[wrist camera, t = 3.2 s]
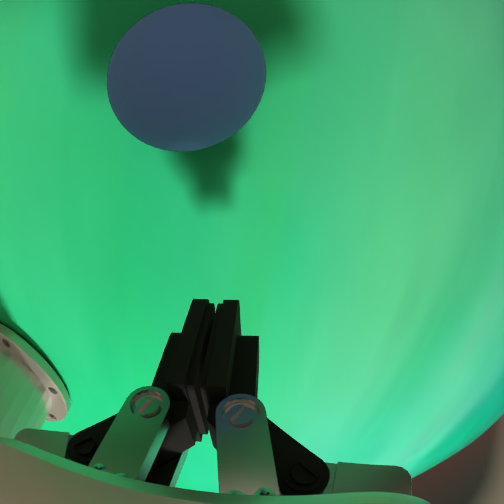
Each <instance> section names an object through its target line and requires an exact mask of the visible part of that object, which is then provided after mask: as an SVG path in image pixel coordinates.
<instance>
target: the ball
mask: <svg viewBox="0 0 504 504" xmlns="http://www.w3.org/2000/svg"><path fill="white" fill-rule="evenodd" d="M265 82H266V65H265V59H264V55H263V51H262V49H261V46H260V44H259V42H258V40H257V38H256V37H255V35H254V34H253V32H252V31H251V30H250V29H249V27H248V26H247V25H246V24H244V23H243V22H242V21H241V20H240V19H238V18H237V17H236V16H234V15H233V14H231V13H229V12H227V11H225V10H223V9H221V8H218V7H215V6H212V5H206V4H199V3H183V4H175V5H171V6H167V7H164V8H161V9H158V10H156V11H154V12H152V13H150V14H148V15H147V16H145V17H143V18H142V19H140V20H139V21H138V22H137V23H135V24H134V25H133V26H132V27H131V28H130V29H129V30H128V31H127V32H126V33H125V34H124V36H123V37H122V38H121V39H120V41H119V42H118V44H117V46H116V48H115V49H114V52H113V54H112V56H111V59H110V63H109V66H108V72H107V91H108V97H109V101H110V104H111V107H112V109H113V112H114V113H115V115H116V117H117V119H118V120H119V121H120V123H121V124H122V125H123V126H124V127H125V128H126V129H127V130H128V131H129V132H130V133H131V134H132V135H133V136H135V137H136V138H137V139H139V140H140V141H142V142H144V143H146V144H148V145H150V146H153V147H155V148H159V149H163V150H168V151H176V152H187V151H195V150H200V149H204V148H208V147H210V146H213V145H216V144H218V143H220V142H222V141H224V140H226V139H228V138H229V137H230V136H232V135H233V134H235V133H236V132H237V131H238V130H239V129H241V128H242V127H243V126H244V125H245V124H246V122H247V121H248V120H249V119H250V118H251V116H252V115H253V113H254V112H255V110H256V109H257V107H258V105H259V103H260V101H261V98H262V95H263V92H264V87H265Z"/></svg>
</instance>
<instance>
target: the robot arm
mask: <svg viewBox="0 0 504 504" xmlns="http://www.w3.org/2000/svg"><path fill="white" fill-rule="evenodd" d="M258 373H259V336H241V324H240V305H239V300H224V301H223V304H218V305H217V309H216V313H215V306H214V303H209V300H208V299H193V300H192V303H191V306H190V309H189V312H188V315H187V318H186V321H185V323H184V326H183V329H182V332H181V333H173V332H172V333H171V334H170V336H169V339H168V342H167V344H166V347H165V350H164V352H163V355H162V358H161V361H160V364H159V366H158V369H157V372H156V375H155V378H154V380H153V383H152V386H146V387H141V388H138V389H136V390H135V391H133V392H132V393H131V394H130V395H129V396H128V397H127V399H126V401H125V402H124V404H123V406H122V408H121V409H120V411H119V413H117V414H115V415H113V416H111V417H109V418H107V419H105V420H103V421H101V422H99V423H97V424H95V425H93V426H91V427H88V428H86V429H84V430H82V431H80V432H78V433H76V434H75V435H71V434H70V433H69V432H58V431H48V430H41V429H42V426H43V424H44V422H45V420H47V421H59V420H62V419H64V418H65V417H66V415H67V413H68V411H69V408H70V398H69V395H68V392H67V390H66V388H65V386H64V384H63V382H62V381H61V379H60V378H59V376H58V375H57V374H56V372H55V371H54V370H53V368H52V367H51V366H50V365H49V364H48V362H47V361H46V360H45V359H44V358H43V357H42V356H41V355H40V354H39V353H38V352H37V351H36V350H35V349H34V348H33V347H32V346H30V345H29V344H28V343H27V342H26V341H25V340H24V339H22V338H21V337H20V336H19V335H17V334H16V333H15V332H13V331H12V330H10V329H9V328H7V327H6V326H4V325H2V324H0V504H430V503H429V502H427V501H425V500H423V499H420V498H417V497H414V496H411V491H412V480H411V476H410V474H409V473H408V471H407V470H405V469H404V468H402V467H399V466H389V465H369V464H355V463H345V462H338V463H337V464H333V463H325V462H324V461H323V460H322V459H320V458H319V457H318V456H316V455H315V454H313V453H312V452H311V451H309V450H308V449H307V448H305V447H304V446H303V445H301V444H300V443H299V442H297V441H296V440H295V439H293V438H292V437H291V436H289V435H288V434H287V433H285V432H284V431H283V430H282V429H280V428H279V427H278V426H277V425H275V424H274V423H273V422H272V421H270V420H269V419H268V418H267V415H266V410H265V407H264V405H263V403H262V402H261V401H260V400H259V399H257V393H258ZM208 431H210V435H211V439H212V443H213V446H214V448H215V449H216V450H217V462H218V481H219V493H213V492H204V491H196V490H189V489H182V488H175V485H176V483H177V480H178V478H179V475H180V473H181V470H182V467H183V465H184V462H185V460H186V457H187V454H188V449H189V448H190V447H192V446H194V445H195V442H196V441H199V442H201V441H202V435H203V434H208Z"/></svg>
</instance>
